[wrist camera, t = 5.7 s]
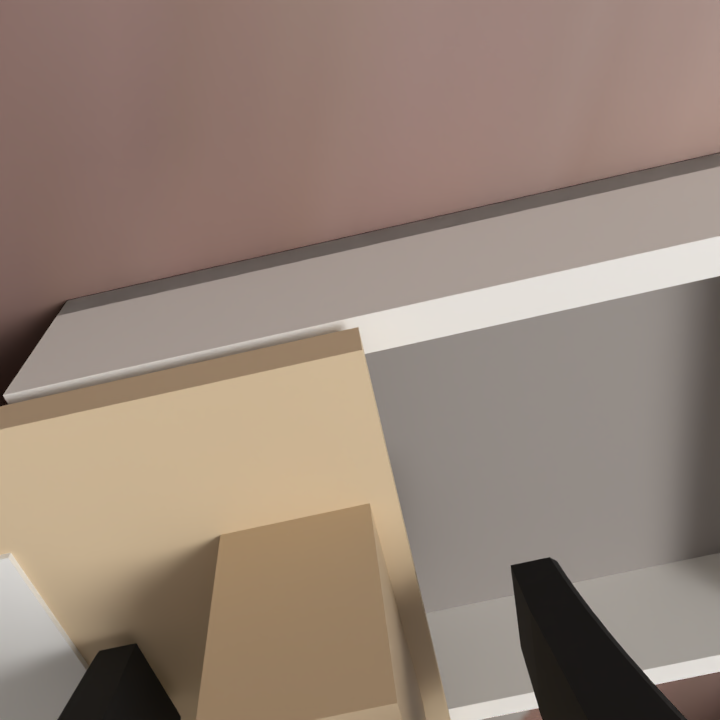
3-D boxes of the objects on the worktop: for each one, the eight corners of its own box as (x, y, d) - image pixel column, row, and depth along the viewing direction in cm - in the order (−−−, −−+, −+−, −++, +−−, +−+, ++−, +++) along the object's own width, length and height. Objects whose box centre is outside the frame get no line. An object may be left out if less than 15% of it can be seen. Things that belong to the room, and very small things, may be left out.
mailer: (805, 133, 11) (956, 183, 9) (747, 542, 16) (830, 649, 14) (67, 300, 12) (2, 395, 9) (236, 647, 17) (224, 771, 14)
